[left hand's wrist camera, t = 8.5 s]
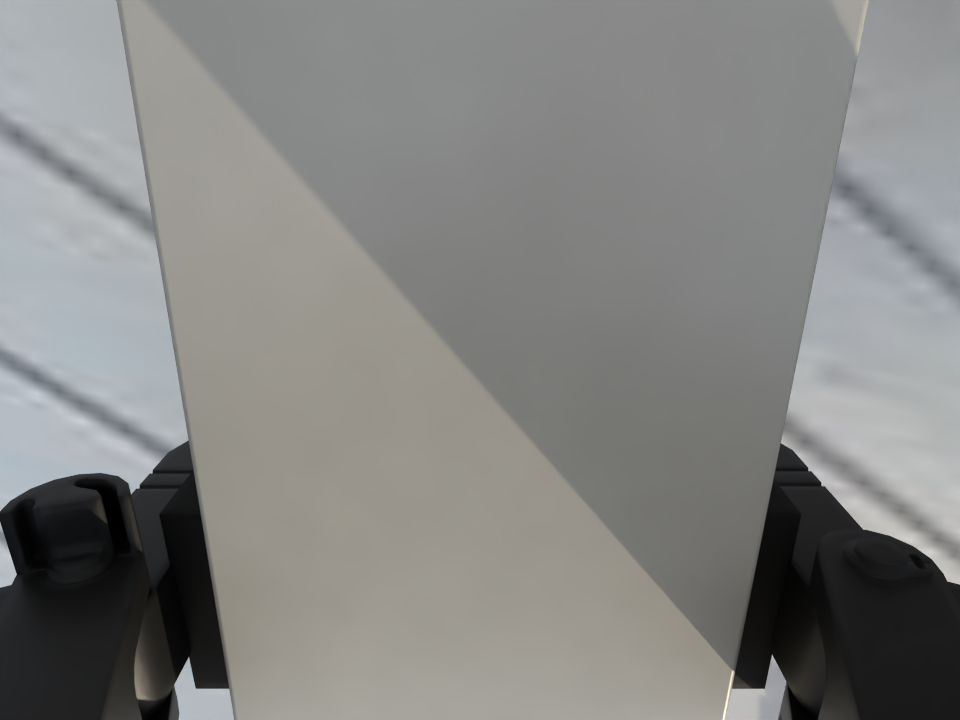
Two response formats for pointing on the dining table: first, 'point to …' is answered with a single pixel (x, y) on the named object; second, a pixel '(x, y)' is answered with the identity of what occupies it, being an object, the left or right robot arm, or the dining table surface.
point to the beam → (486, 334)
